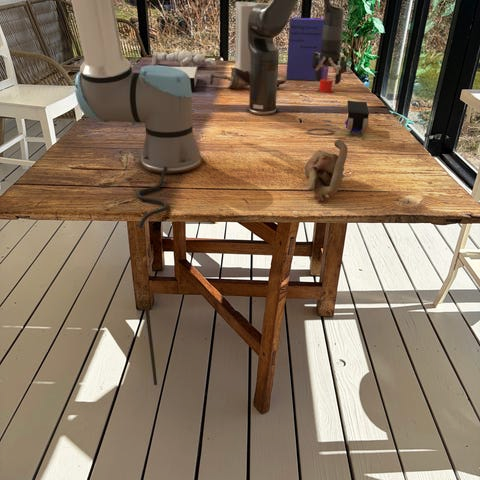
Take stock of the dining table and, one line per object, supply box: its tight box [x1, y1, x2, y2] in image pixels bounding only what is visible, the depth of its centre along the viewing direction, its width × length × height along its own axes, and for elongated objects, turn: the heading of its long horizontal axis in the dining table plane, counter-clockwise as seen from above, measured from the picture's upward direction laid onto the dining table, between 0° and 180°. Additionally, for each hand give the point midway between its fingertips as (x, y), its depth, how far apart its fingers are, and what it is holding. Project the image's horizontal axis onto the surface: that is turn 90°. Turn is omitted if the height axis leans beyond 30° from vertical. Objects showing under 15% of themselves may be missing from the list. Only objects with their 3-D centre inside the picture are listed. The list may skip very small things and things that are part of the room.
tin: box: [318, 78, 334, 94], centre depth 189 cm, size 5×5×4 cm
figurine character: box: [344, 100, 370, 136], centre depth 146 cm, size 7×8×15 cm
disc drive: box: [172, 66, 198, 92], centre depth 194 cm, size 18×22×5 cm
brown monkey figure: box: [303, 139, 349, 202], centre depth 108 cm, size 13×9×15 cm
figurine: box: [209, 66, 287, 89], centre depth 190 cm, size 24×8×30 cm
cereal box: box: [285, 17, 329, 81], centre depth 201 cm, size 17×5×24 cm, turn 86°
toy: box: [151, 50, 218, 68], centre depth 224 cm, size 24×25×7 cm
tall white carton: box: [234, 1, 270, 72], centre depth 210 cm, size 19×15×28 cm
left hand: (148, 0), depth 141 cm, fingers open, 13 cm apart
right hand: (327, 82), depth 188 cm, fingers open, 8 cm apart
